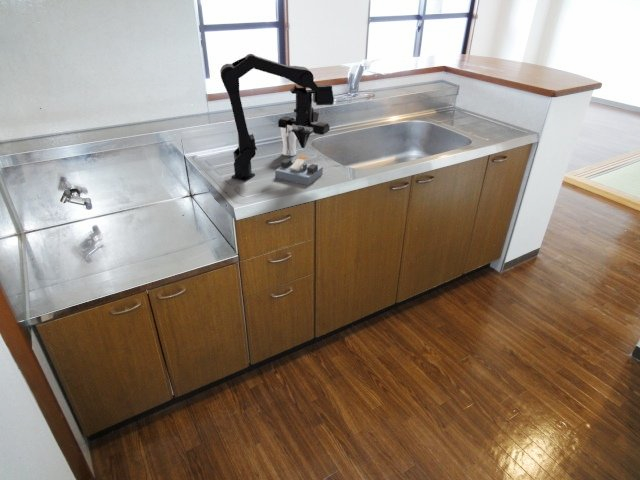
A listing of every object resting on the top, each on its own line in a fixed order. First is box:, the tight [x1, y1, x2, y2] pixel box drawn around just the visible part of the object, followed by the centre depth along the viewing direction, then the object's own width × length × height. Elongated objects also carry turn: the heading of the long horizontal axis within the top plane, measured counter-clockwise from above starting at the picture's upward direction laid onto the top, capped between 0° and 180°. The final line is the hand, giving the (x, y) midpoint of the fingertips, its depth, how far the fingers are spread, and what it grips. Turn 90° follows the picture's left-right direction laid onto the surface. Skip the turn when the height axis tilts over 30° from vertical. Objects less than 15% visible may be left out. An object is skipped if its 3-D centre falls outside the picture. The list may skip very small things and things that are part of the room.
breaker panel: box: [274, 159, 324, 186], centre depth 160 cm, size 12×14×5 cm
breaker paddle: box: [290, 154, 309, 171], centre depth 159 cm, size 8×4×1 cm, turn 154°
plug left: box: [280, 158, 292, 168], centre depth 162 cm, size 4×2×2 cm, turn 154°
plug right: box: [307, 163, 319, 174], centre depth 158 cm, size 4×2×2 cm, turn 154°
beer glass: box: [280, 116, 297, 157], centre depth 178 cm, size 7×7×15 cm
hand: (303, 147), depth 159 cm, fingers closed
